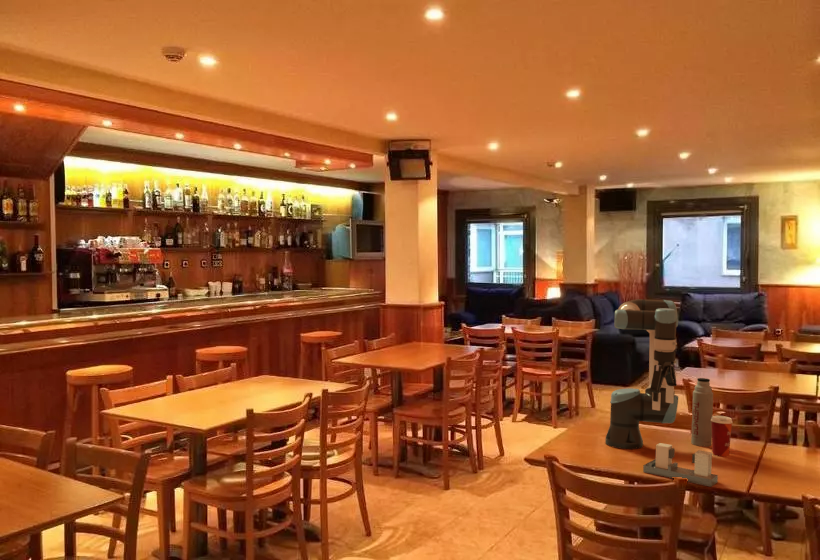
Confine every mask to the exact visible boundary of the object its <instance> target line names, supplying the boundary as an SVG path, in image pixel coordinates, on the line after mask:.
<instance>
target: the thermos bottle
mask: <svg viewBox="0 0 820 560" xmlns="http://www.w3.org/2000/svg"><path fill="white" fill-rule="evenodd" d="M710 382H711V379H709V378H707V377H706V378H704V377H699V378H697V381H696V385H694V390H693V391H692V407H691V409H692V411H691V414H692V417H691V418H692V419H691V439H690V440H691V441H690V442H691V443H690V444H692V445H694V446H698V447H707V448H708V447H712V423H711V419H712V416H714V415H713V410H714V406H713V405H714V392H713V391H712V386H710Z"/></svg>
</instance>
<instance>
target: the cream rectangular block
mask: <svg viewBox="0 0 820 560" xmlns="http://www.w3.org/2000/svg"><path fill="white" fill-rule="evenodd" d="M675 452H676V449H675V448H674V447H673V444H667V443H665V442H664V443H663V442H662V443H661V442H659V443H657V444H656V445H655V459H656V465H655V467H659V468H664V469H668V466H669V465H671V464H673V458H675Z"/></svg>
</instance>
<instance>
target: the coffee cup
mask: <svg viewBox="0 0 820 560" xmlns="http://www.w3.org/2000/svg"><path fill="white" fill-rule="evenodd" d="M711 423H712V445H711V450H712V451H711V453H712V456H717V457H720V458H721V457H723V458H724V457H725V458H726V457H729V455H730V446H731V437H732V436H731V435H732V428H733V427H732V425H733V424H734V423H733V419H732V418H731V417H729V416H724V415H713V416H712V419H711Z"/></svg>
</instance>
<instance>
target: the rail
mask: <svg viewBox="0 0 820 560" xmlns="http://www.w3.org/2000/svg"><path fill="white" fill-rule="evenodd" d="M691 455H692V456H691V457H692V460H691V463H692V464H694V469H690V468H686V467H680V466H679V465H678V462H676V461H674V462H672V464H671V465H669V466H668V469H664V468H659V467H655V465H656V458H654V459H653V460H651V461H648V462H647V463H645V464H644V465H643V470H642V471H643V473H646V474H650V475H655V476H659V477H663V476H664V478H668V477H669V479H673V478H672V477H682V478H687V479H688V482H687V483H692V484H697V485H701V486H705V487H709V488H711V487H713V486H715V484H717V483H718V478H719V477H718V476H719V475H718V474H713V473H712V463H713V461H712V459H713V452H712V451H711V452H710V451H705V450H700V449H698V450H696V451H695V452H694V453H693V454H691Z"/></svg>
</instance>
